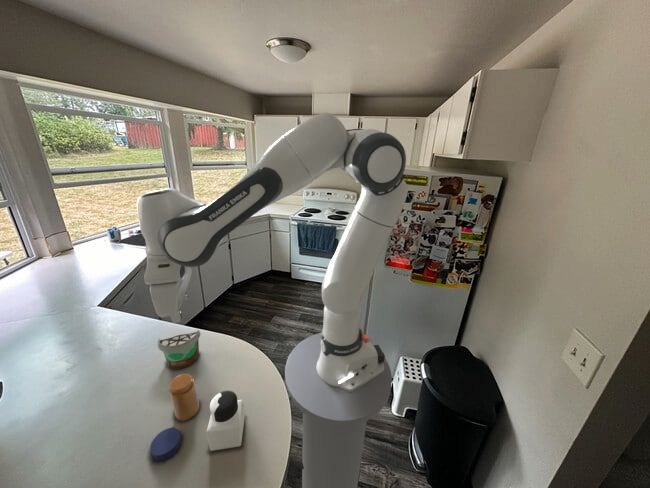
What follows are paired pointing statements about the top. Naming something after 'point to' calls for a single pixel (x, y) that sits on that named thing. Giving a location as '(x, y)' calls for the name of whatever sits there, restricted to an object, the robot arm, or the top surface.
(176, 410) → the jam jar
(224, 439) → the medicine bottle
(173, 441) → the jar lid
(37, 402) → the top surface
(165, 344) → the food container
